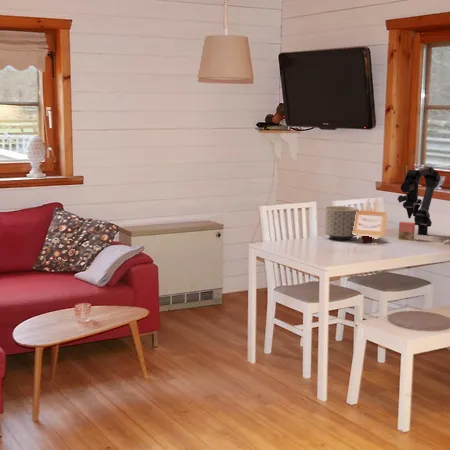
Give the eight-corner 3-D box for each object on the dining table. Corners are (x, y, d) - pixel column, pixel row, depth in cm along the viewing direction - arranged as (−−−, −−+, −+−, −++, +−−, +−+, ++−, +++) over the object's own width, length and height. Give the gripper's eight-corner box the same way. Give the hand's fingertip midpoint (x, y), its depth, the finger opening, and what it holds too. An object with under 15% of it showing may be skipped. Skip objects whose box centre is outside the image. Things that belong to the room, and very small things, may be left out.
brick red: (398, 230, 439) (399, 222, 438) (401, 229, 442) (401, 221, 442) (412, 232, 435) (412, 223, 434) (414, 231, 438) (415, 222, 437)
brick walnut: (398, 239, 440) (398, 230, 439) (400, 238, 443) (400, 229, 442) (411, 240, 436) (412, 232, 435) (413, 239, 439) (414, 231, 438)
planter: (331, 242, 433) (332, 211, 430) (319, 236, 452) (320, 206, 449) (362, 241, 438) (363, 210, 435) (349, 235, 456) (350, 205, 453)
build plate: (399, 238, 448) (399, 236, 447) (419, 240, 442) (419, 238, 442) (392, 241, 437) (393, 239, 437) (413, 243, 432) (413, 241, 431)
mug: (371, 240, 440) (372, 223, 439) (380, 243, 433) (381, 225, 432) (357, 242, 435) (358, 224, 434) (366, 244, 428) (366, 227, 427)
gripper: (404, 188, 454) (403, 214, 457) (394, 191, 438) (393, 218, 441) (422, 189, 449) (421, 215, 452) (413, 193, 433) (412, 219, 436)
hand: (411, 217), depth 445 cm, fingers open, 9 cm apart
